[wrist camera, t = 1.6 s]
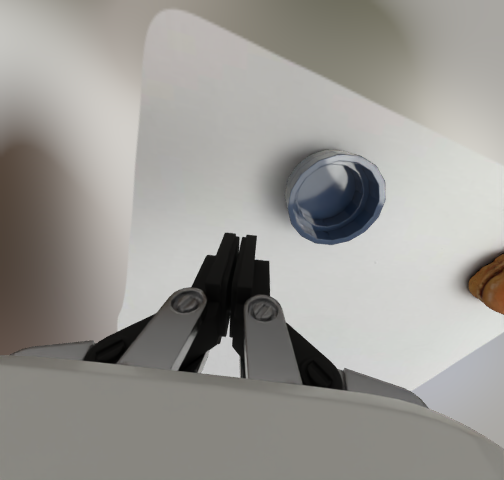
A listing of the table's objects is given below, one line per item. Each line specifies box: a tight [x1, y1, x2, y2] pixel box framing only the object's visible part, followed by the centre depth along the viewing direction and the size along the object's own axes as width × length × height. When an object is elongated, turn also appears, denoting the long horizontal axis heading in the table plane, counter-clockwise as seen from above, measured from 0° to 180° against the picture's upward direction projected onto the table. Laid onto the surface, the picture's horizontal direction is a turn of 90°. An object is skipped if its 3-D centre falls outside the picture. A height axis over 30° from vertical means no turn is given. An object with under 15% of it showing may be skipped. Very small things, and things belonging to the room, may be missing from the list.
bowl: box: [285, 149, 386, 245], centre depth 22 cm, size 9×9×5 cm
